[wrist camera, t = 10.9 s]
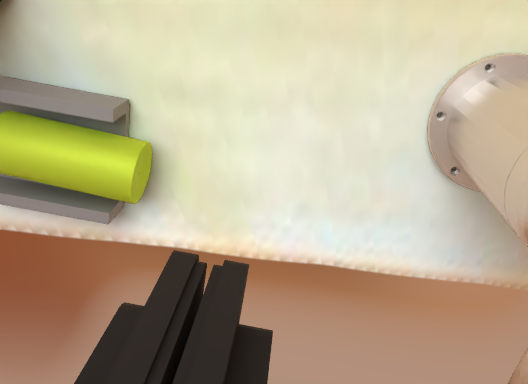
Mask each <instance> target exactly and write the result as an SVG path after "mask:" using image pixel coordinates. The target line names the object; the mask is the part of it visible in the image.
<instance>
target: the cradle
mask: <svg viewBox="0 0 528 384" xmlns="http://www.w3.org/2000/svg"><path fill="white" fill-rule="evenodd" d="M5 111H15V112H19V113H23V114H28V115H32V116H37V117H41V118H45V119H50V120H54V121H59V122H63V123H67V124H72V125H76V126H81V127H85V128H89V129H94V130H98V131H103V132H107V133H111V134H116V135H120V136H125V137H128V134H129V116H130V104H129V99H124V98H118V97H113V96H107V95H102V94H96V93H91V92H86V91H80V90H75V89H69V88H64V87H58V86H53V85H47V84H42V83H36V82H31V81H25V80H20V79H14V78H9V77H3V76H0V114H1V113H3V112H5ZM123 202H124V201H119V200H115V199H110V198H106V197H102V196H97V195H93V194H88V193H84V192H80V191H75V190H71V189H66V188H62V187H58V186H53V185H49V184H44V183H40V182H36V181H31V180H27V179H22V178H18V177H14V176H9V175H5V174H0V204H2V205H8V206H13V207H18V208H24V209H29V210H34V211H40V212H45V213H50V214H56V215H61V216H66V217H72V218H77V219H82V220H88V221H93V222H98V223H104V224H109V223H110V222H111V221H112V220H113V218H114V217H115V216H116V215H117V214H118V212H119V211H120V210H121V209H122V208H123Z"/></svg>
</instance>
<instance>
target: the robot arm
mask: <svg viewBox="0 0 528 384" xmlns="http://www.w3.org/2000/svg"><path fill="white" fill-rule="evenodd" d="M487 64H489V65H490V66H489V69H487V70H485V66H486V65H487ZM439 112H442V115H441V116H439V117H437V114H438V113H439ZM427 130H428V142H429V146H430V150H431V153H432V155H433V157H434V159H435V161H436V163H437V164H438V165H439V167H440V168H441V170H442V171H443V172H444V173H445V174H446V175H447V176H448V177H449V178H450V179H452V180H453V181H455V182H456V183H458V184H460V185H461V186H464V187H467V188H469V189H472V190H476V191H482V192H483V194H484V195H485V196H486V197H487V199H488V200H489V201H490V202H491V204H492V205H493V206H494V207H495V208H496V210H497V211H498V212H499V213H500V215H501V216H502V217H503V218H504V220H505V221H506V222H507V223H508V225H509V226H510V227H511V228H512V229H513V231H514V232H515V233H516V234H517V235H518V236H519V238H520V239H521V240H522V241H523V242H524V243H525V245H526V246H527V247H528V55H523V54H518V53H516V54H499V55H494V56H489V57H486V58H484V59H481V60H479V61H476V62H474V63H472V64H470V65H469V66H467V67H465V68H464V69H462V70H461V71H460V72H458V73H457V74H456V75H455V76H454V77H453V78H451V79H450V80H449V82H448V83H447V84H446V85H445V86H444V88H443V89H442V90H441V91H440V93H439V95H438V97H437V98H436V100H435V102H434V104H433V107H432V110H431V112H430V115H429V121H428V128H427ZM453 167H455V169H454V170H451V169H452V168H453ZM206 268H207V263H203V262H199V255H196V254H191V253H185V252H179V251H175V250H174V251H173V252H172V255H171V256H170V258H169V260H168V262H167V264H166V266H165V267H164V270H163V271H162V273H161V275H160V277H159V279H158V281H157V283H156V285H155V287H154V289H153V291H152V293H151V295H150V297H149V299H148V301H147V302H146V304H145V306H140V305H135V304H130V303H123V304H122V305H121V306H120V307H119V309H118V310H117V312H116V314H115V315H114V317H113V319H112V321H111V322H110V324H109V326H108V327H107V329H106V331H105V332H104V334H103V336H102V337H101V339H100V341H99V343H98V344H97V346H96V348H95V349H94V351H93V353H92V355H91V356H90V358H89V360H88V361H87V363H86V364H85V366H84V368H83V370H82V371H81V373H80V375H79V376H78V378H77V380H76V381H75V383H74V384H267V380H268V371H269V361H270V353H271V344H272V334H273V331H272V330H267V329H262V328H256V327H251V326H246V325H241V324H239V320H240V314H241V309H242V303H243V297H244V291H245V285H246V280H247V274H248V268H249V264H244V263H238V262H234V261H228V260H225V261H224V264H223V266H219V265H214V266H213V269H212V271H211V274H210V277H209V280H208V283H207V286H206V289H205V292H204V294H203V291H204V283H205V276H206ZM508 384H528V348H527V350H526V352H525V353H524V355H523V356H522V359H521V361H520V362H519V364H518V366H517V367H516V369H515V371H514V372H513V374H512V377H511V378H510V380H509V382H508Z"/></svg>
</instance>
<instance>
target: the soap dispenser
mask: <svg viewBox="0 0 528 384" xmlns="http://www.w3.org/2000/svg"><path fill="white" fill-rule="evenodd" d="M151 162H152V147H151V144H150V143H149V142H147V141H142V140H138V139H133V138H129V137H125V136H120V135H116V134H111V133H107V132H103V131H98V130H94V129H89V128H85V127H81V126H76V125H72V124H67V123H63V122H59V121H54V120H50V119H45V118H41V117H37V116H32V115H28V114H23V113H19V112H15V111H5V112H3V113H1V114H0V174H5V175H9V176H14V177H18V178H22V179H27V180H31V181H36V182H40V183H44V184H49V185H53V186H58V187H62V188H66V189H71V190H75V191H80V192H84V193H88V194H93V195H97V196H102V197H106V198H110V199H115V200H119V201H124V202H128V203H132V204H136V203H137V202H138V201H139V200H140V199H141V197H142V195H143V193H144V190H145V188H146V185H147V181H148V178H149V174H150V169H151Z"/></svg>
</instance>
